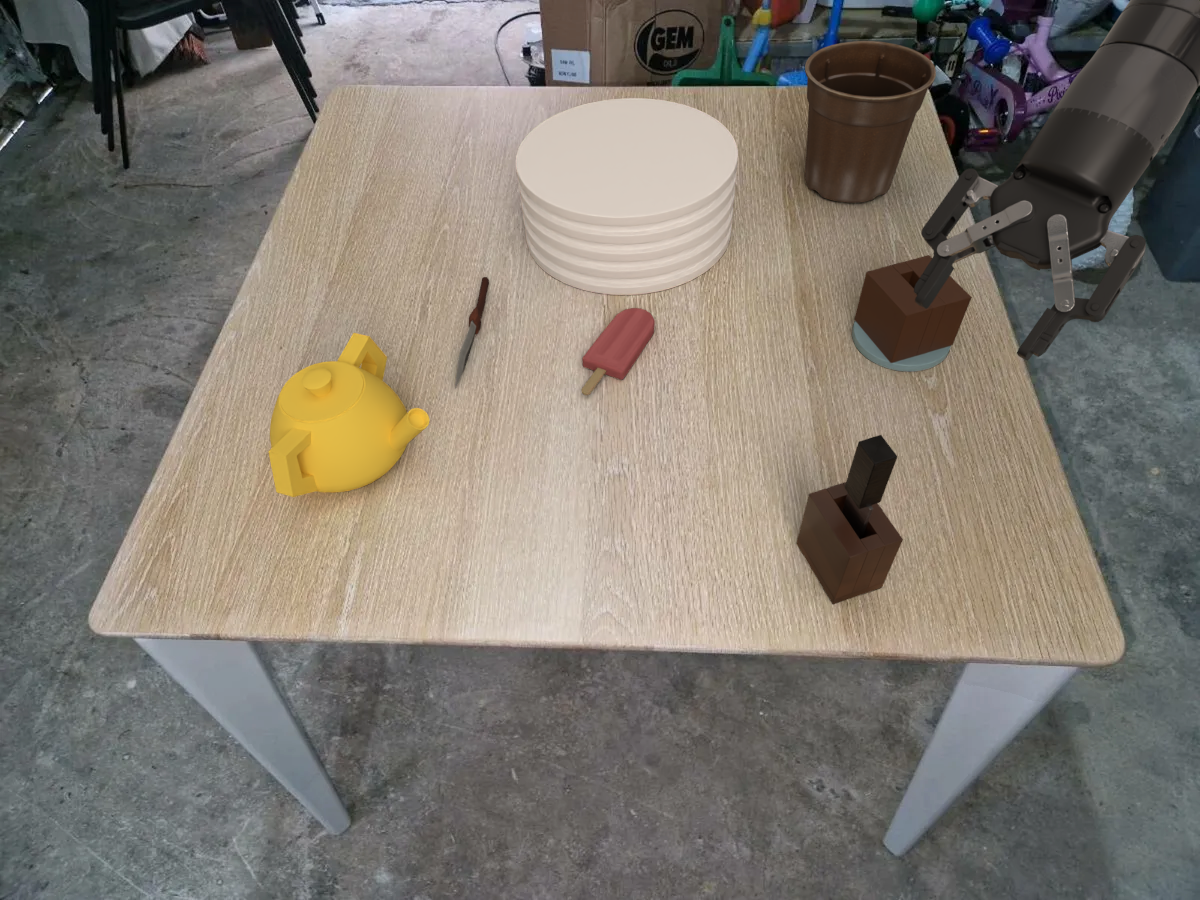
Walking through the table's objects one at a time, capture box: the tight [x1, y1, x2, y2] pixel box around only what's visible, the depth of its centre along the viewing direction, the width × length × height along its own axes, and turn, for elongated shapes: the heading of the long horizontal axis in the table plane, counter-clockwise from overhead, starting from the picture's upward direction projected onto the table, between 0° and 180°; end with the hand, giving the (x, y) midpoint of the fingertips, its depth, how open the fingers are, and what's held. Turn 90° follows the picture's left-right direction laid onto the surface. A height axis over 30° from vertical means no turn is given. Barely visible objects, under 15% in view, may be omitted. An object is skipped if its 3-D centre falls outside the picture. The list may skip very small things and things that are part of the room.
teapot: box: [267, 332, 431, 498], centre depth 81 cm, size 20×18×11 cm
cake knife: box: [842, 434, 898, 539], centre depth 67 cm, size 2×3×16 cm, turn 19°
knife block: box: [795, 481, 904, 605], centre depth 71 cm, size 5×7×8 cm
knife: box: [454, 276, 490, 389], centre depth 95 cm, size 18×2×3 cm, turn 173°
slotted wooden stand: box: [851, 254, 972, 373], centre depth 90 cm, size 11×11×8 cm
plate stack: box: [515, 97, 739, 296], centre depth 105 cm, size 28×28×12 cm
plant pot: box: [804, 40, 937, 204], centre depth 108 cm, size 16×16×16 cm
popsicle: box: [580, 307, 656, 396], centre depth 93 cm, size 5×2×15 cm
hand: (969, 330), depth 61 cm, fingers open, 8 cm apart
